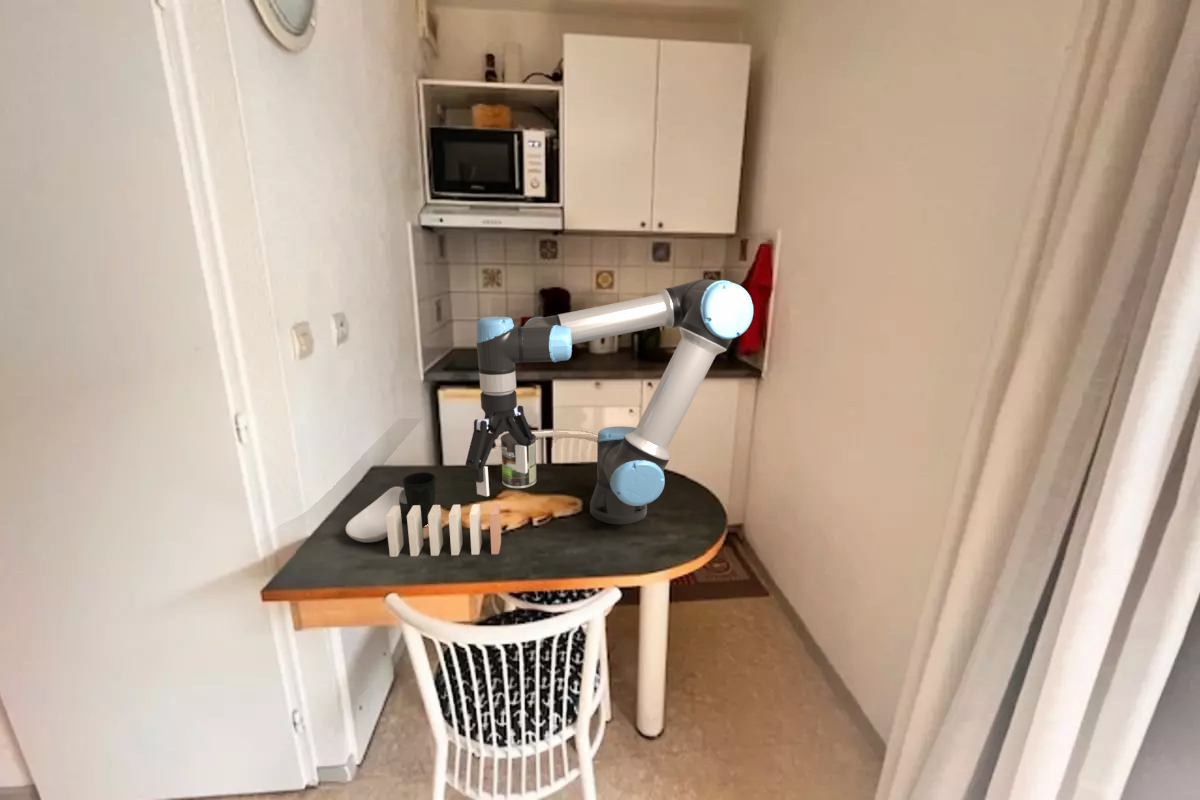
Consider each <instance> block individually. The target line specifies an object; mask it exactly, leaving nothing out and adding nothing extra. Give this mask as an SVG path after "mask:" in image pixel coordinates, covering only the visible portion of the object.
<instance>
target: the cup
mask: <svg viewBox="0 0 1200 800" xmlns="http://www.w3.org/2000/svg"><path fill="white" fill-rule="evenodd" d="M436 482H437V481H436V475H435V474H433V473H431V472H422V471H421V472H415V473H411V474H409V475H407V476H405V477H404V478H403V479H402V484H403V488H404V490H405V495H406V500H407V504H406V506H407V508H408V512H409V511H410V510H411V508H412V506H413V505H420V508H421V520H422V529H423V527H424V526H425V525H427V524H428V514H429V512H430V510H431V508H432V506H433V505H436ZM424 528H425V527H424Z"/></svg>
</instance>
